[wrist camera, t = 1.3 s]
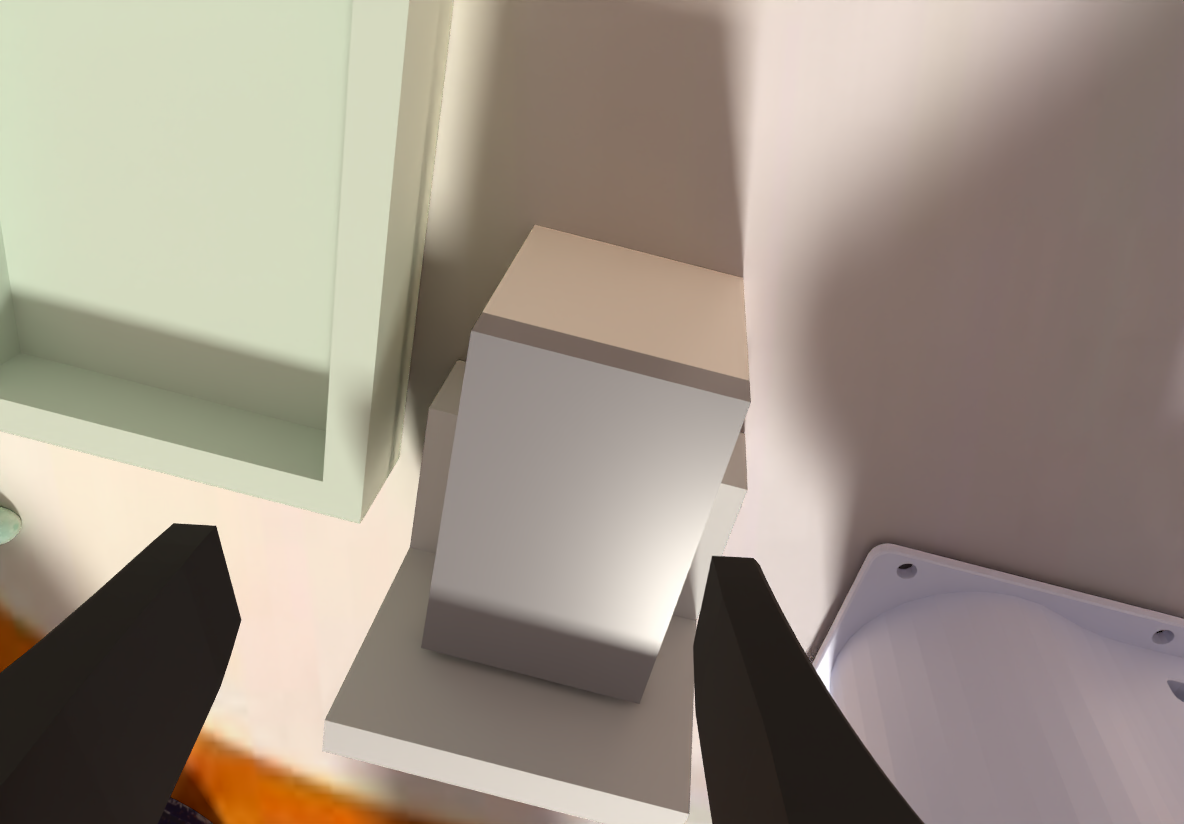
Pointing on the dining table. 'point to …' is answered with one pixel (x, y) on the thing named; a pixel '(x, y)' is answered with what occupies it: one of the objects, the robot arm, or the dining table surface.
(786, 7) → the dining table surface
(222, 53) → the tray
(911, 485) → the dining table surface
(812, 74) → the dining table surface
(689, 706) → the dock
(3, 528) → the long green cone
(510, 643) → the tall grey beige-topped block
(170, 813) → the storage jar
